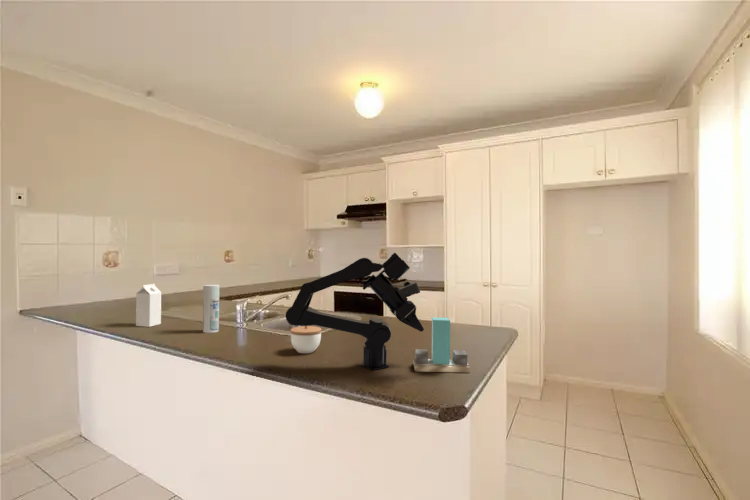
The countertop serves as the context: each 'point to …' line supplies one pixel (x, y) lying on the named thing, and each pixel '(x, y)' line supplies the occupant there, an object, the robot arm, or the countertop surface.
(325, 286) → the robot arm
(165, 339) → the countertop surface
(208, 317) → the spray can
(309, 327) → the lidded jar
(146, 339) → the countertop surface
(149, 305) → the milk carton
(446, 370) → the board
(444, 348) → the block
